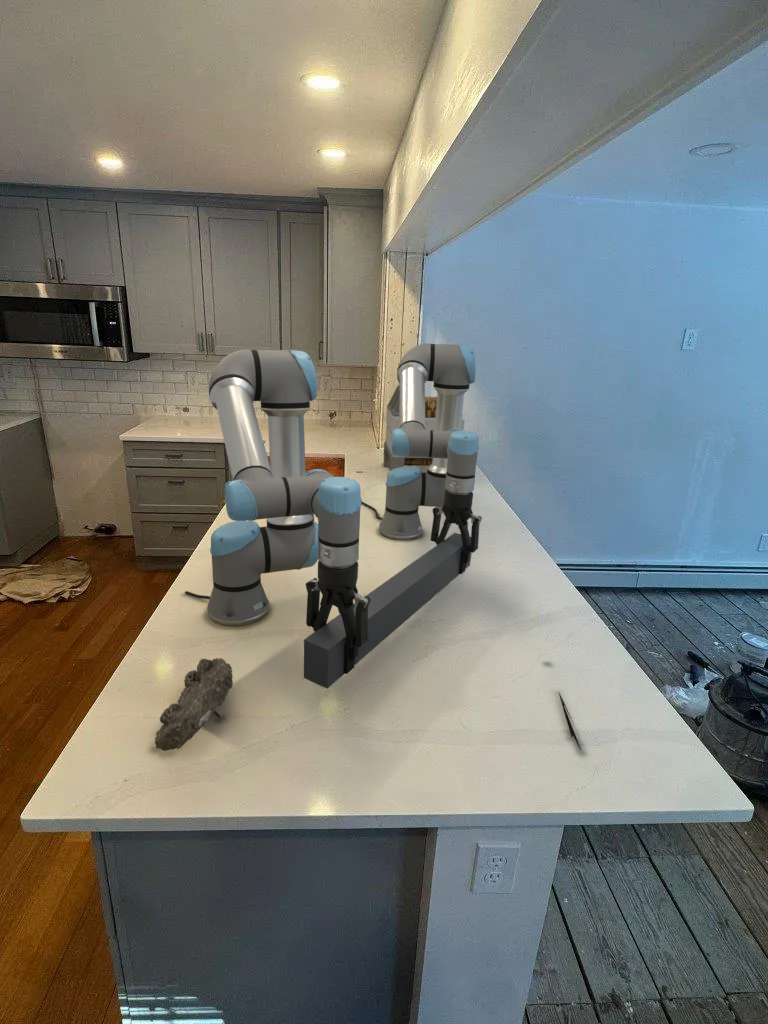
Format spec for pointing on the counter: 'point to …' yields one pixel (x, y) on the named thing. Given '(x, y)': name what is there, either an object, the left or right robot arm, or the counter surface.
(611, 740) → the counter surface
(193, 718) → the fossil
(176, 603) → the counter surface
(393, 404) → the grey storage crate
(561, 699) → the feather
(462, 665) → the counter surface
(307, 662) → the bar
